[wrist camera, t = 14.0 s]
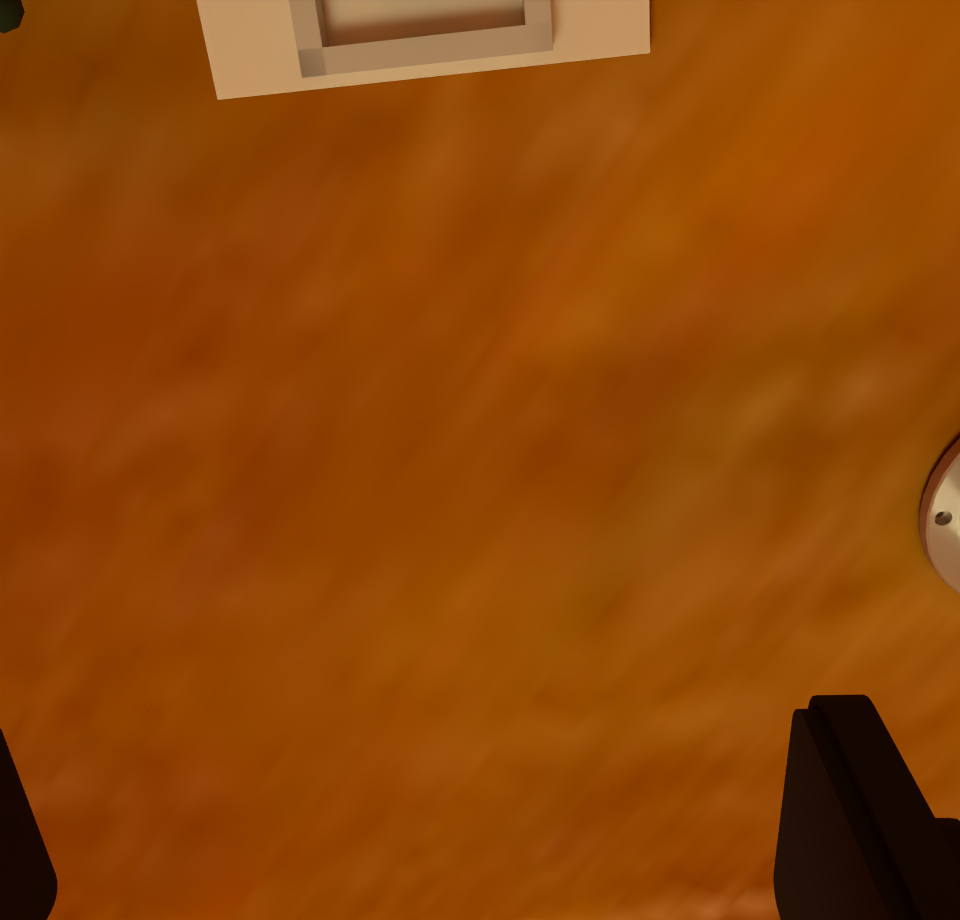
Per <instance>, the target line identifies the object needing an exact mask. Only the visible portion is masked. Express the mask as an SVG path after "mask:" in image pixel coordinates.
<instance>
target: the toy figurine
mask: <svg viewBox="0 0 960 920" xmlns="http://www.w3.org/2000/svg"><path fill="white" fill-rule="evenodd" d="M23 15H24V9H23V6H22V2H21V0H0V32H2V33H6V32H9V31H11V30H13V29H16V28H18V27H19V25H20V23H21V20H22V18H23Z"/></svg>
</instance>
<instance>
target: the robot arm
mask: <svg viewBox="0 0 960 920" xmlns="http://www.w3.org/2000/svg"><path fill="white" fill-rule="evenodd" d="M919 530H920V538H921V542H922V545H923V549H924V552H925V554H926V556H927V558H928V560H929V561H930V563H931V565H932V566H933V568H934V569H935V571H936V572H937V573H938V574H939V575H940V576H941V577H942V579H943V580H944V581H945V582H946V584H948V585H949V586H950V587H951V588H953V589H954V590H955V591H956V592H957V593H959V594H960V438H959V439H958V440H957V441H956V443H955V444H954V445H953V446H952V447H951V448H950V449H949V450H948V451H947V453H946V454H945V455H944V456H943V458H942V459H941V461H940V463H939V464H938V466H937V467H936V469H935V470H934V472H933V473H932V475H931V477H930V480H929V482H928V485H927V487H926V490H925V492H924V494H923V498H922V503H921V508H920V514H919ZM774 892H775V898H776V904H777V908H778V912H779V915H780V918H781V920H960V821H959V820H958V819H954V818H935V817H934V815H933V813H932V812H931V810H930V808H929V806H928V804H927V802H926V801H925V799H924V797H923V795H922V793H921V791H920V789H919V788H918V786H917V784H916V782H915V780H914V778H913V777H912V775H911V773H910V771H909V769H908V767H907V765H906V764H905V762H904V760H903V758H902V756H901V754H900V753H899V751H898V749H897V747H896V745H895V743H894V742H893V740H892V738H891V736H890V734H889V732H888V730H887V729H886V727H885V725H884V723H883V721H882V719H881V718H880V716H879V714H878V712H877V710H876V708H875V706H874V705H873V703H872V702H871V700H870V699H869V697H867V696H865V695H815V696H812V698H811V699H810V702H809V706H808V709H796V710H795V711H794V713H793V718H792V725H791V733H790V742H789V750H788V758H787V767H786V775H785V783H784V792H783V800H782V808H781V817H780V825H779V833H778V842H777V850H776V858H775V867H774ZM56 894H57V878H56V874H55V871H54V869H53V866H52V863H51V861H50V858H49V855H48V853H47V850H46V847H45V845H44V842H43V839H42V837H41V834H40V831H39V829H38V826H37V823H36V821H35V818H34V815H33V813H32V810H31V807H30V805H29V802H28V799H27V797H26V794H25V791H24V789H23V786H22V783H21V781H20V778H19V775H18V773H17V770H16V767H15V765H14V762H13V759H12V757H11V754H10V751H9V749H8V746H7V743H6V741H5V738H4V735H3V733H2V730H1V729H0V920H47V918H48V916H49V914H50V912H51V910H52V908H53V906H54V903H55V899H56Z"/></svg>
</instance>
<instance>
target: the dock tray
mask: <svg viewBox="0 0 960 920" xmlns="http://www.w3.org/2000/svg"><path fill="white" fill-rule="evenodd" d="M197 5H198V10H199V14H200V19H201V24H202V29H203V33H204V38H205V43H206V47H207V52H208V57H209V61H210V66H211V71H212V75H213V80H214V85H215V89H216V94H217V99H218V100H221V99H230V98H239V97H248V96H258V95H267V94H276V93H285V92H295V91H304V90H313V89H322V88H331V87H341V86H350V85H359V84H368V83H378V82H387V81H396V80H405V79H414V78H424V77H433V76H442V75H451V74H461V73H470V72H479V71H488V70H497V69H507V68H516V67H525V66H534V65H544V64H553V63H562V62H571V61H581V60H590V59H599V58H608V57H617V56H627V55H636V54H645V53H650V14H649V0H197Z"/></svg>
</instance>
